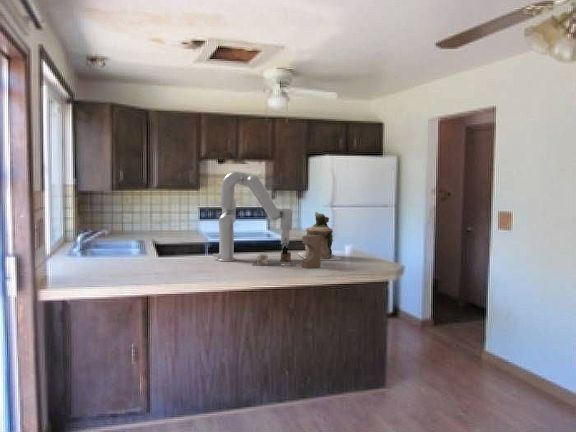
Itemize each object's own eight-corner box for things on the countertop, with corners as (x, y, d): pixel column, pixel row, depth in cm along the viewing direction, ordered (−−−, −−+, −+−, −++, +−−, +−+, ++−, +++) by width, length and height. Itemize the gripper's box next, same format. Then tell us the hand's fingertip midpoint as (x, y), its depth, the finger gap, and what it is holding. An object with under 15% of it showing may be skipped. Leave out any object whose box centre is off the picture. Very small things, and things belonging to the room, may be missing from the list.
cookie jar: (306, 261, 330) (307, 214, 327) (297, 255, 354) (297, 211, 351) (341, 260, 336) (342, 213, 333) (329, 254, 360) (330, 210, 357)
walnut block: (280, 262, 328) (280, 253, 328) (281, 260, 335) (281, 251, 334) (290, 262, 328) (290, 253, 328) (290, 260, 335) (290, 251, 334)
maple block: (257, 265, 314) (257, 255, 314) (257, 263, 321) (257, 254, 320) (267, 265, 314) (267, 255, 314) (267, 263, 321) (267, 254, 320)
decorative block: (307, 268, 305) (307, 236, 303) (301, 267, 310) (301, 235, 308) (320, 267, 312) (321, 235, 310) (315, 265, 316) (315, 234, 315)
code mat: (251, 266, 312) (251, 265, 312) (253, 262, 324) (253, 262, 324) (296, 266, 312) (296, 266, 312) (295, 263, 324) (295, 262, 324)
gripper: (280, 225, 338) (279, 250, 340) (280, 228, 321) (279, 254, 322) (291, 226, 338) (290, 250, 340) (291, 229, 321) (290, 255, 323)
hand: (284, 252), depth 331 cm, fingers open, 9 cm apart
